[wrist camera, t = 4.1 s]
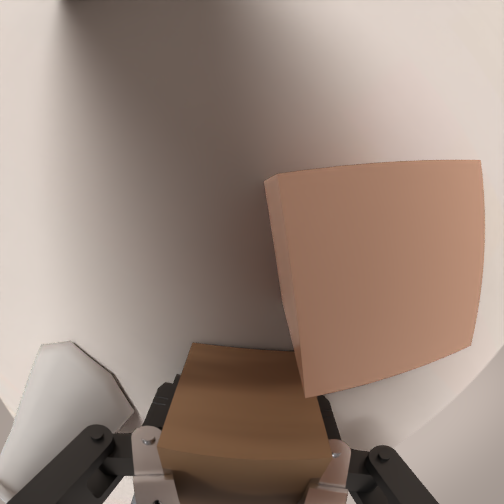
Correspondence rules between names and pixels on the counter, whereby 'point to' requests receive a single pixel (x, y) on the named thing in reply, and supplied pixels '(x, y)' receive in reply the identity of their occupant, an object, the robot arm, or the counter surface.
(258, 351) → the walnut cube
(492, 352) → the counter surface
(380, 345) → the terracotta cube
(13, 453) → the flask
